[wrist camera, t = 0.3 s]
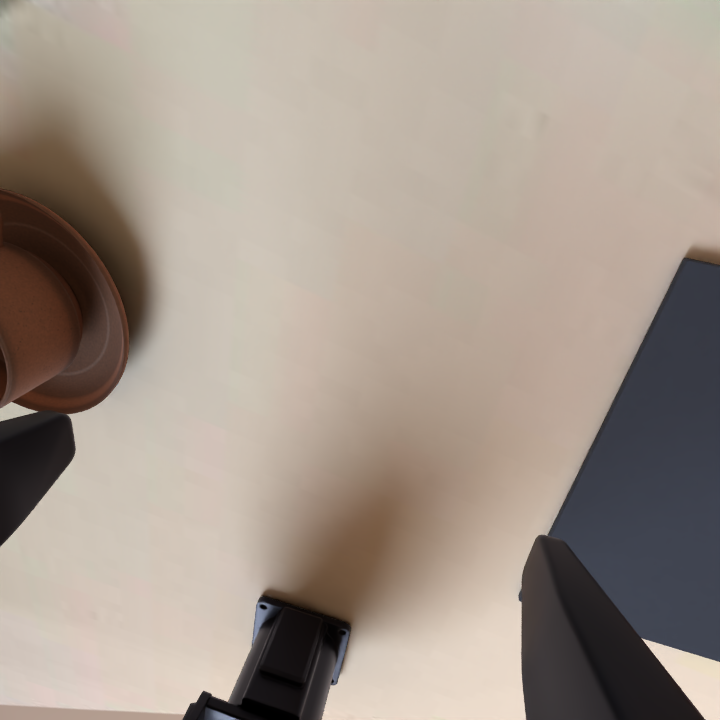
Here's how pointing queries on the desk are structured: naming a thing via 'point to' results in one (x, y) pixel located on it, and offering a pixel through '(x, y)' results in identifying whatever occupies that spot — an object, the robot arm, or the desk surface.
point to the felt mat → (660, 477)
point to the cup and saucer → (55, 313)
